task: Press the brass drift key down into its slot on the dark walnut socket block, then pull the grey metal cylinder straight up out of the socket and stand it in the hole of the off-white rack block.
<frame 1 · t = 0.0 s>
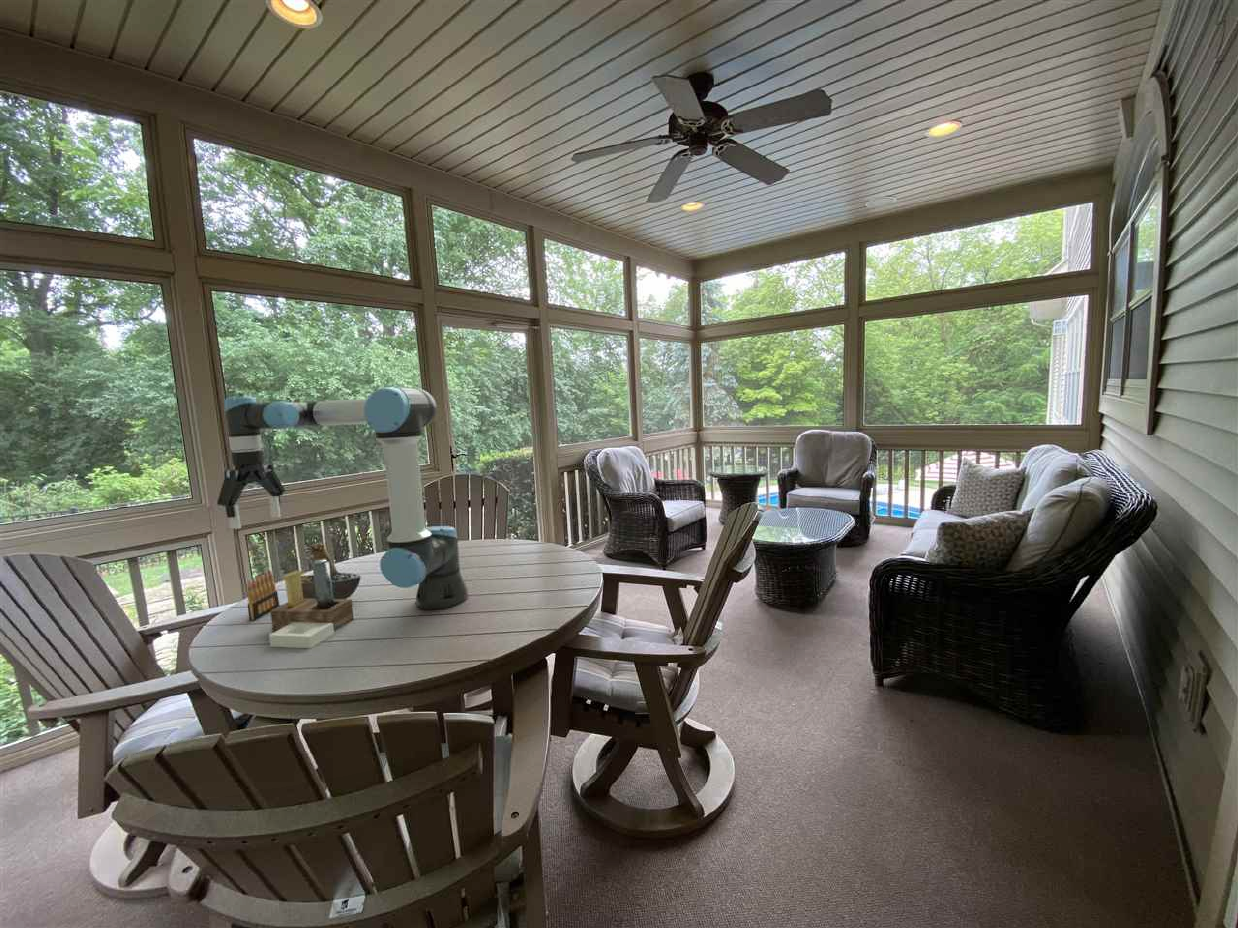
hand: (256, 522, 149), 28 cm above the table, fingers open, 13 cm apart
rack block: (302, 639, 133), on the table
ammunition clip: (265, 614, 153), on the table
socket block: (314, 625, 142), on the table
grey metal cylinder: (327, 619, 141), point 2 cm above the table, touching socket block
planter: (328, 604, 158), on the table
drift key: (294, 590, 142), point 10 cm above the table, slide at 0.0 cm
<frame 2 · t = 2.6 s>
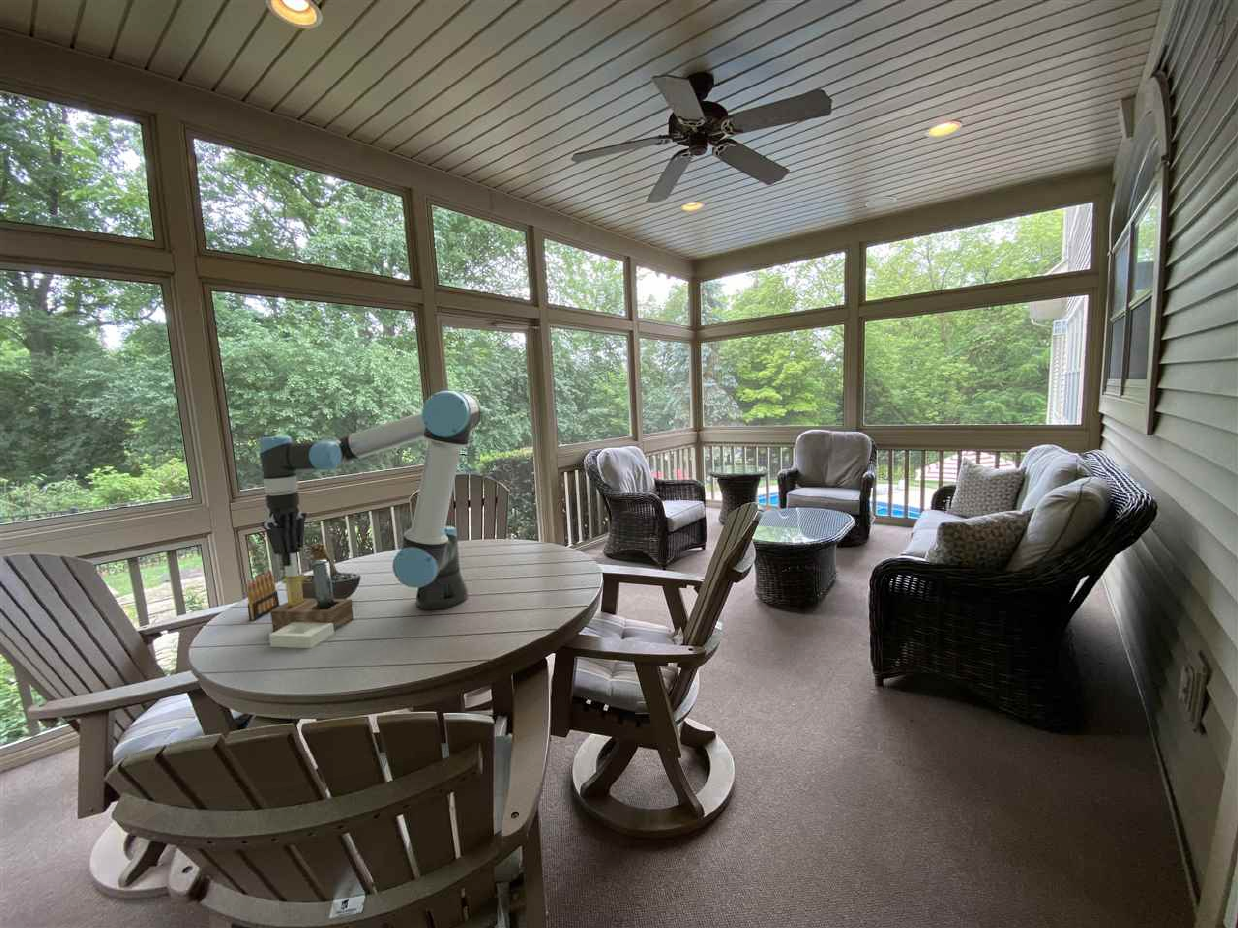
hand: (292, 575, 142), 14 cm above the table, fingers closed
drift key: (294, 593, 142), point 9 cm above the table, slide at 0.9 cm, touching gripper
everything else where it was.
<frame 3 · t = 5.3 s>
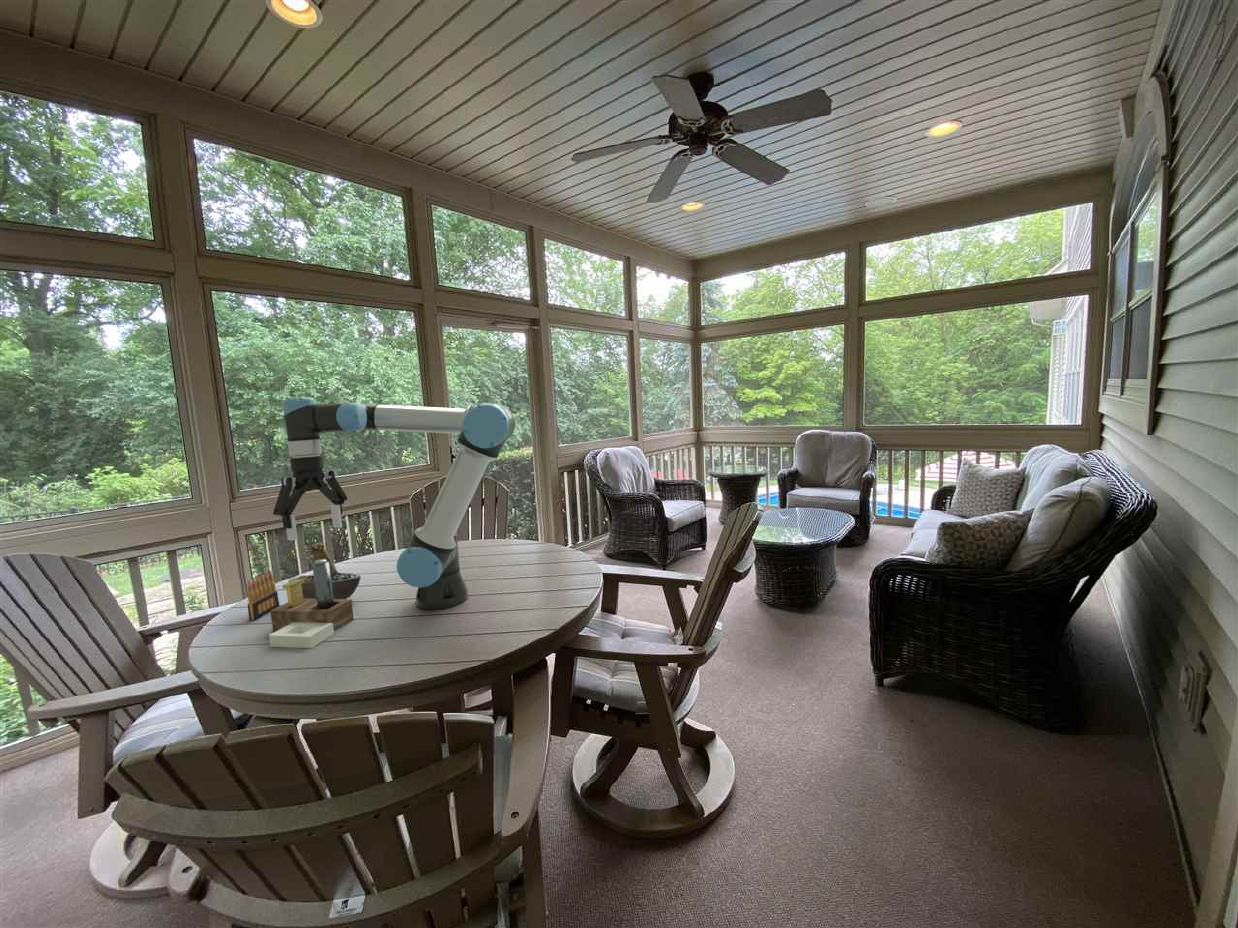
hand: (316, 533, 139), 26 cm above the table, fingers open, 13 cm apart
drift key: (295, 599, 142), point 8 cm above the table, slide at 2.5 cm
everything else where it was.
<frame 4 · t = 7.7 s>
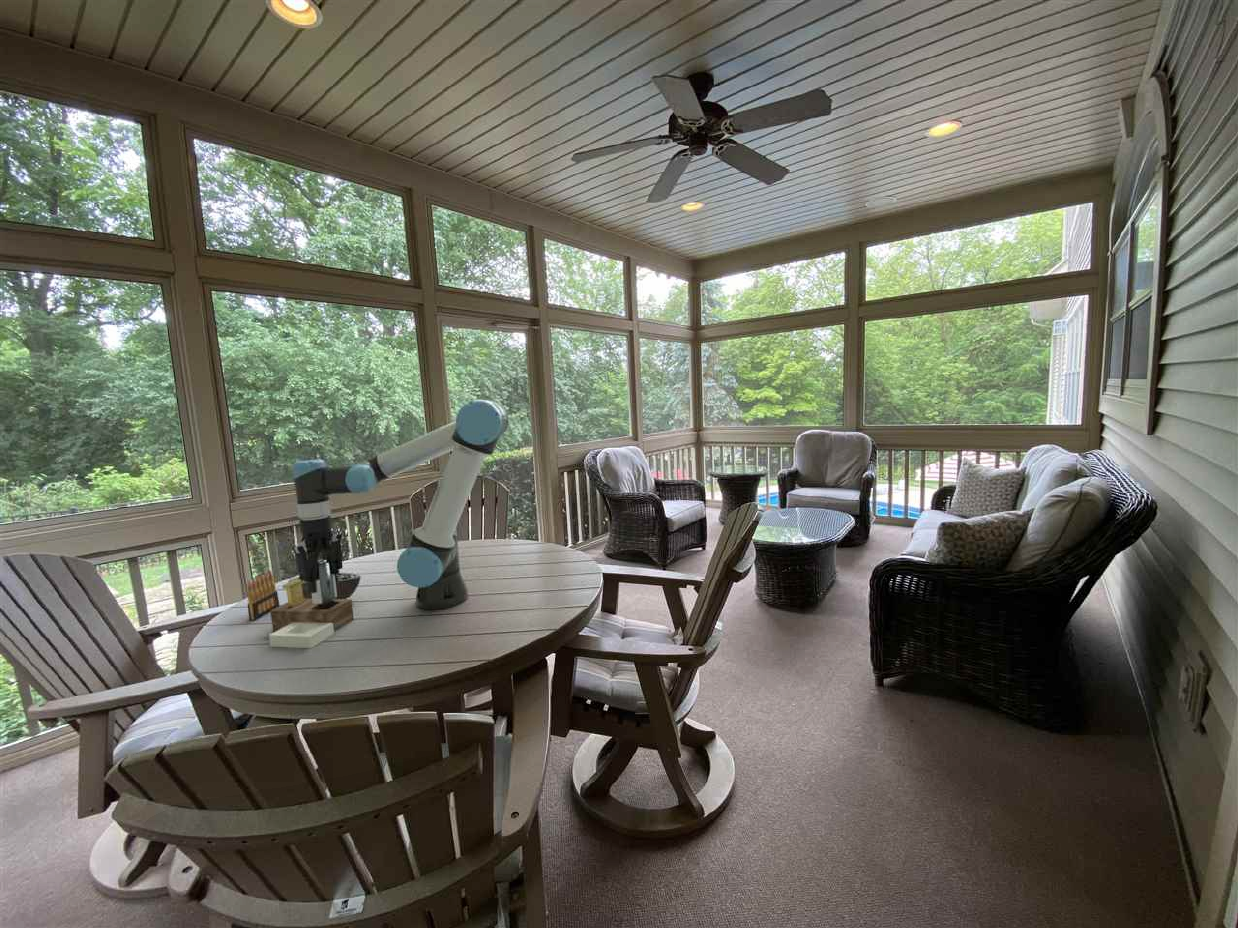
hand: (325, 599, 141), 8 cm above the table, fingers closed on grey metal cylinder, 4 cm apart
grey metal cylinder: (327, 619, 141), point 2 cm above the table, touching gripper, socket block
everything else where it was.
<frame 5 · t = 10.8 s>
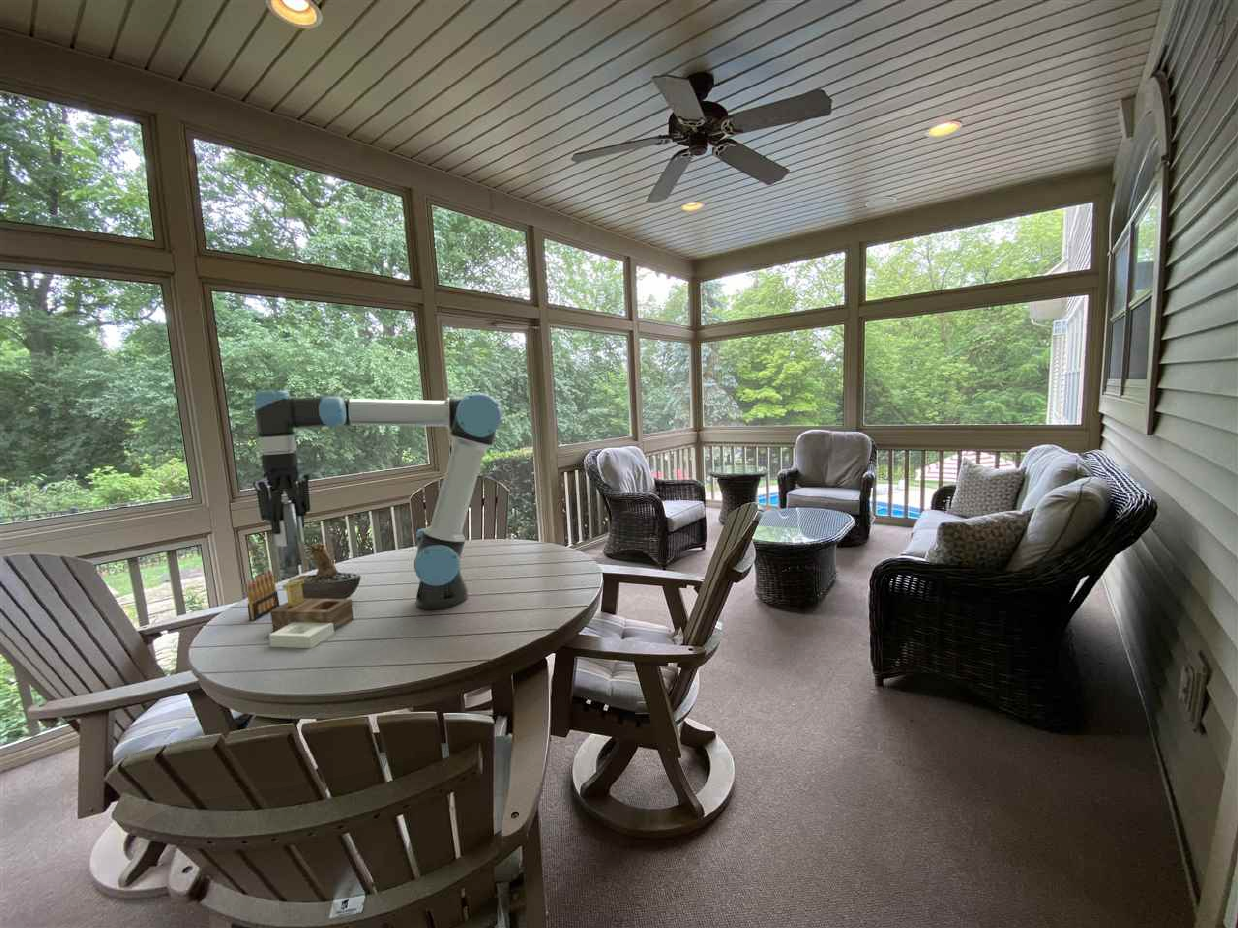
hand: (290, 543, 130), 26 cm above the table, fingers closed on grey metal cylinder, 4 cm apart
grey metal cylinder: (293, 564, 131), point 20 cm above the table, touching gripper
everything else where it was.
when the fingers open (8 cm above the table, at t = 14.2 s): grey metal cylinder drops 1 cm, resting on rack block.
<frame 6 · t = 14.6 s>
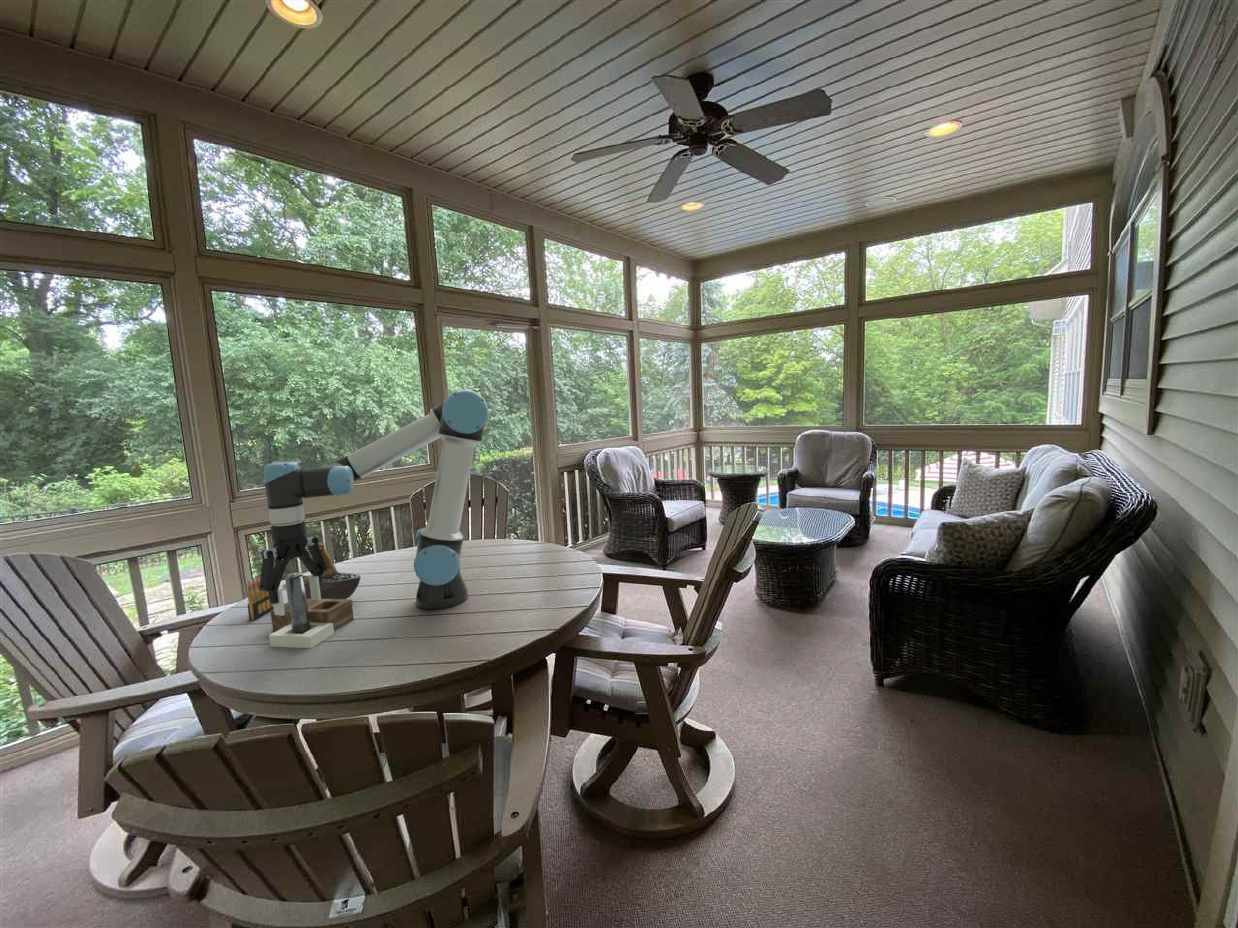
hand: (298, 606, 132), 9 cm above the table, fingers open, 9 cm apart
grey metal cylinder: (302, 636, 133), point 1 cm above the table, touching rack block
everything else where it was.
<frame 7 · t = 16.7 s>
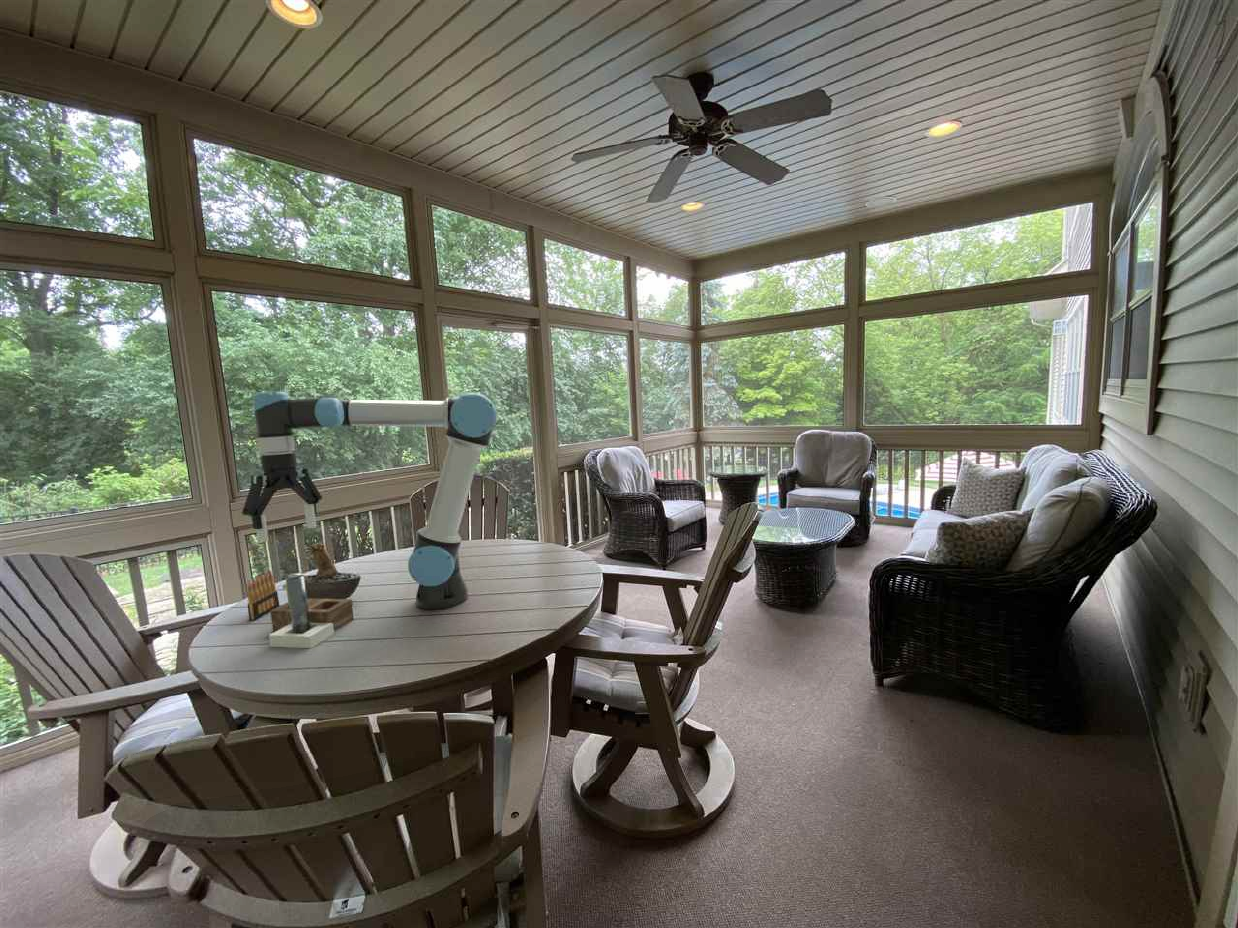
hand: (288, 534, 133), 28 cm above the table, fingers open, 13 cm apart
nothing on the table moved.
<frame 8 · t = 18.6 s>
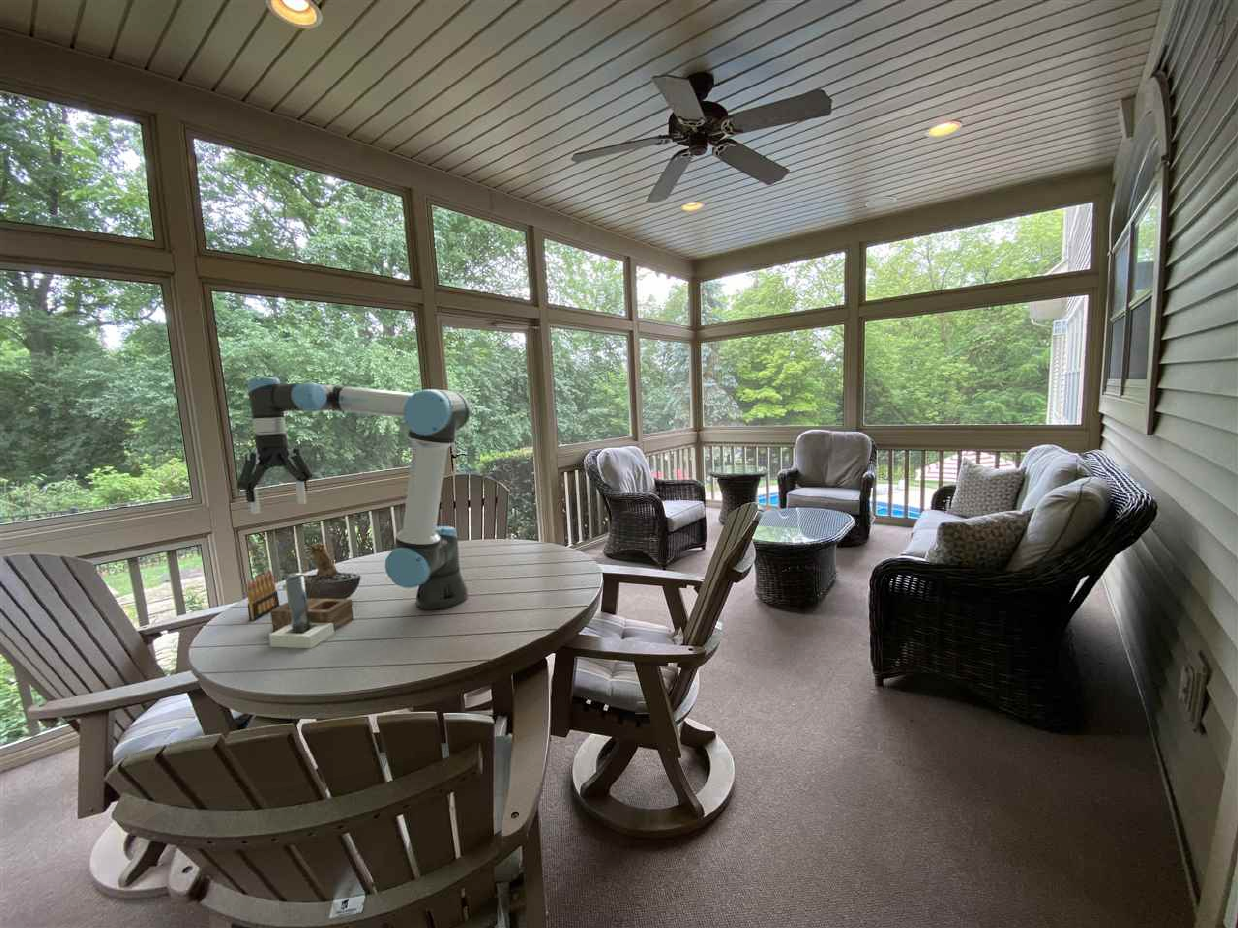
hand: (280, 508, 144), 33 cm above the table, fingers open, 13 cm apart
nothing on the table moved.
at the end: grey metal cylinder 0.0 cm off-centre on the rack block, point 1.0 cm above the rack block's base; grey metal cylinder tilted 0°; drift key slide at 2.5 cm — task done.
